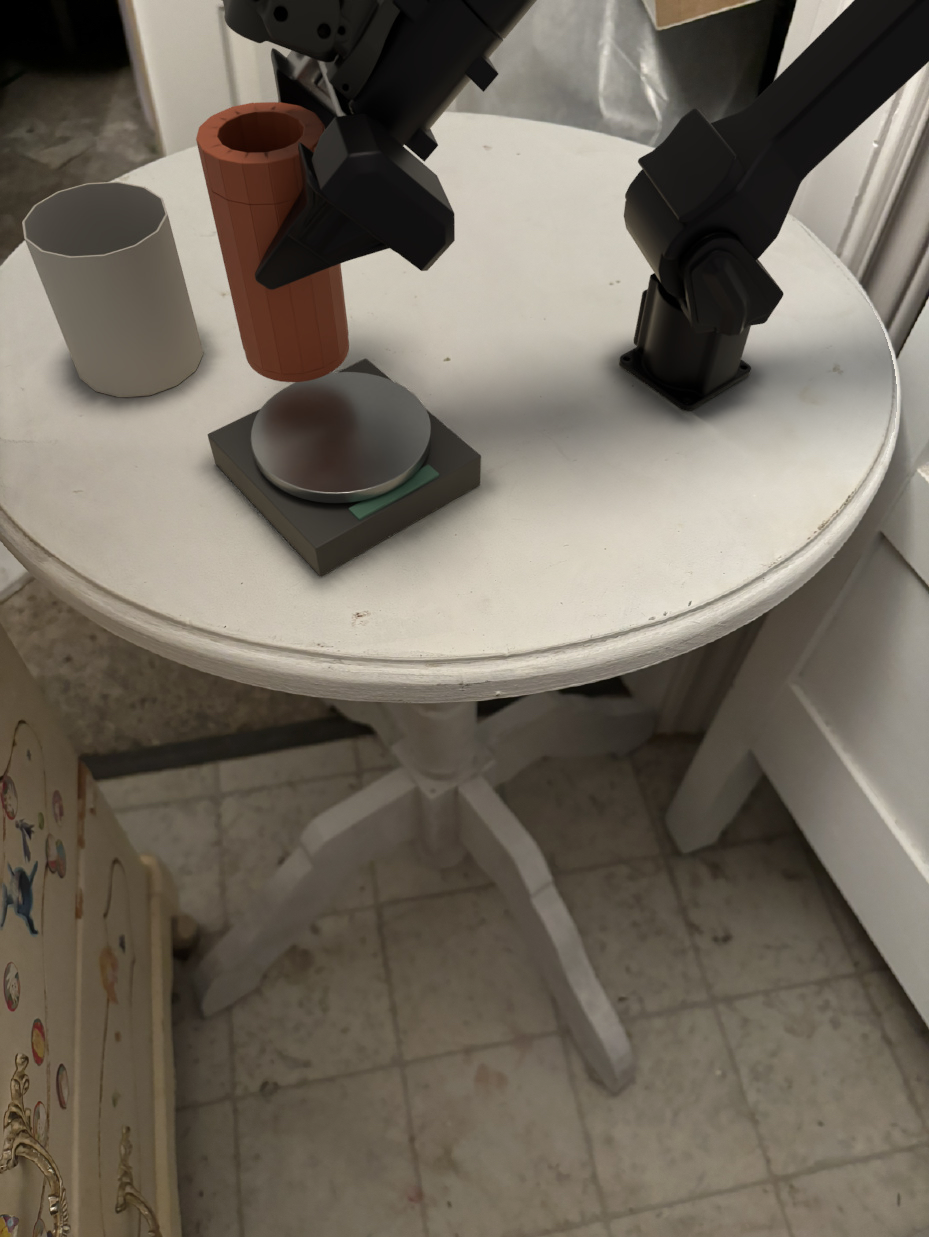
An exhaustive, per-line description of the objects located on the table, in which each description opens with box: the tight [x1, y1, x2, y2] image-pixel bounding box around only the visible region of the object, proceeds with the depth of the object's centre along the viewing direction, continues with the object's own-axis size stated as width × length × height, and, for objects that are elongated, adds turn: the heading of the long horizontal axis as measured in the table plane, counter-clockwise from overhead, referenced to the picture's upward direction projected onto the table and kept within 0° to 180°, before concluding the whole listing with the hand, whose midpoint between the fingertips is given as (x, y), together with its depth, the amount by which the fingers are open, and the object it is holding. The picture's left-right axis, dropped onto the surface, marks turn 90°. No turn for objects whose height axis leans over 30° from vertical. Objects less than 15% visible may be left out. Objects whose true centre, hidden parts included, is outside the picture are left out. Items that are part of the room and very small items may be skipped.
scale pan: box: [251, 371, 431, 503], centre depth 54 cm, size 10×10×1 cm
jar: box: [195, 101, 350, 383], centre depth 49 cm, size 6×6×12 cm
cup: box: [21, 181, 205, 398], centre depth 59 cm, size 8×8×10 cm
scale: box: [207, 358, 482, 577], centre depth 56 cm, size 12×12×3 cm
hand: (254, 248), depth 49 cm, fingers closed on jar, 6 cm apart
